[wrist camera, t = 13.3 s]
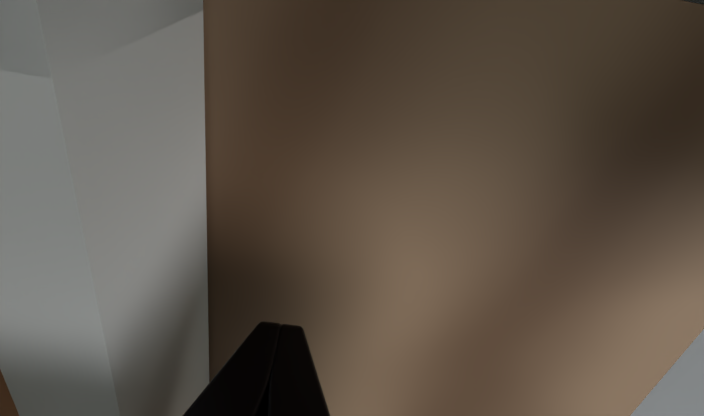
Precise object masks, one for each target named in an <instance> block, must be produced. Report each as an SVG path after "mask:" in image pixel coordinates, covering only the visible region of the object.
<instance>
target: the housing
mask: <svg viewBox="0 0 704 416" xmlns="http://www.w3.org/2000/svg"><path fill="white" fill-rule="evenodd" d="M0 370H1V372H2V375H3V377H4V380H5V382H6V384H7V387H8V389H9V392H10V394H11V397H12V399H13V401H14V404H15V406H16V409H17V411H18V414H19V416H183V414H184V413H185V412H186V411H187V409H188V408H189V407H190V406H191V405H192V403H193V402H194V401H195V400H196V399H197V397H198V396H199V395H200V394H201V392H202V391H203V390H204V389H205V388H206V386H207V385H208V384H209V332H208V272H207V211H206V150H205V89H204V28H203V0H0Z"/></svg>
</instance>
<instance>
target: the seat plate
mask: <svg viewBox="0 0 704 416" xmlns="http://www.w3.org/2000/svg"><path fill="white" fill-rule="evenodd" d="M203 28H204V89H205V150H206V211H207V272H208V332H209V383H210V382H211V380H212V379H213V378H214V377H215V375H216V374H217V373H218V372H219V371H220V369H221V368H222V367H223V366H224V365H225V363H226V362H227V361H228V360H229V358H230V357H231V356H232V355H233V354H234V352H235V351H236V350H237V349H238V347H239V346H240V345H241V344H242V343H243V341H244V340H245V339H246V338H247V337H248V335H249V334H250V333H251V332H252V330H253V329H254V328H255V327H256V326H257V324H259V323H260V322H262V321H266V322H274V323H280V324H281V325H282V324H290V325H298V326H301V327H302V328H303V329H304V332H305V335H306V339H307V342H308V345H309V348H310V352H311V355H312V358H313V361H314V364H315V368H316V371H317V374H318V377H319V381H320V384H321V387H322V390H323V394H324V397H325V400H326V403H327V406H328V410H329V413H330V416H630V415H631V414H632V413H633V411H634V410H635V409H636V408H637V407H638V406H639V404H640V403H641V402H642V401H643V400H644V399H645V397H646V396H647V395H648V394H649V393H650V391H651V390H652V389H653V388H654V387H655V386H656V384H657V383H658V382H659V381H660V380H661V379H662V377H663V376H664V375H665V374H666V373H667V371H668V370H669V369H670V368H671V367H672V366H673V364H674V363H675V362H676V361H677V360H678V359H679V357H680V356H681V355H682V354H683V353H684V351H685V350H686V349H687V348H688V347H689V346H690V344H691V343H692V342H693V341H694V340H695V339H696V337H697V336H698V335H699V334H700V333H701V331H702V330H703V329H704V5H703V4H698V3H693V2H688V1H683V0H203Z"/></svg>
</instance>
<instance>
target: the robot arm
mask: <svg viewBox="0 0 704 416" xmlns="http://www.w3.org/2000/svg"><path fill="white" fill-rule="evenodd" d="M183 416H330V413H329V410H328V406H327V403H326V400H325V397H324V394H323V390H322V387H321V384H320V381H319V377H318V374H317V371H316V368H315V364H314V361H313V358H312V355H311V352H310V348H309V345H308V342H307V339H306V335H305V332H304V329H303V328H302V327H301V326H298V325H290V324H282V325H281V324H280V323H274V322H266V321H262V322H260V323H259V324H257V326H256V327H255V328H254V329H253V330H252V332H251V333H250V334H249V335H248V337H247V338H246V339H245V340H244V341H243V343H242V344H241V345H240V346H239V347H238V349H237V350H236V351H235V352H234V354H233V355H232V356H231V357H230V358H229V360H228V361H227V362H226V363H225V365H224V366H223V367H222V368H221V369H220V371H219V372H218V373H217V374H216V375H215V377H214V378H213V379H212V380H211V382H210V383H209V384H208V385H207V386H206V388H205V389H204V390H203V391H202V392H201V394H200V395H199V396H198V397H197V399H196V400H195V401H194V402H193V403H192V405H191V406H190V407H189V408H188V409H187V411H186V412H185V413H184V414H183Z"/></svg>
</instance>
